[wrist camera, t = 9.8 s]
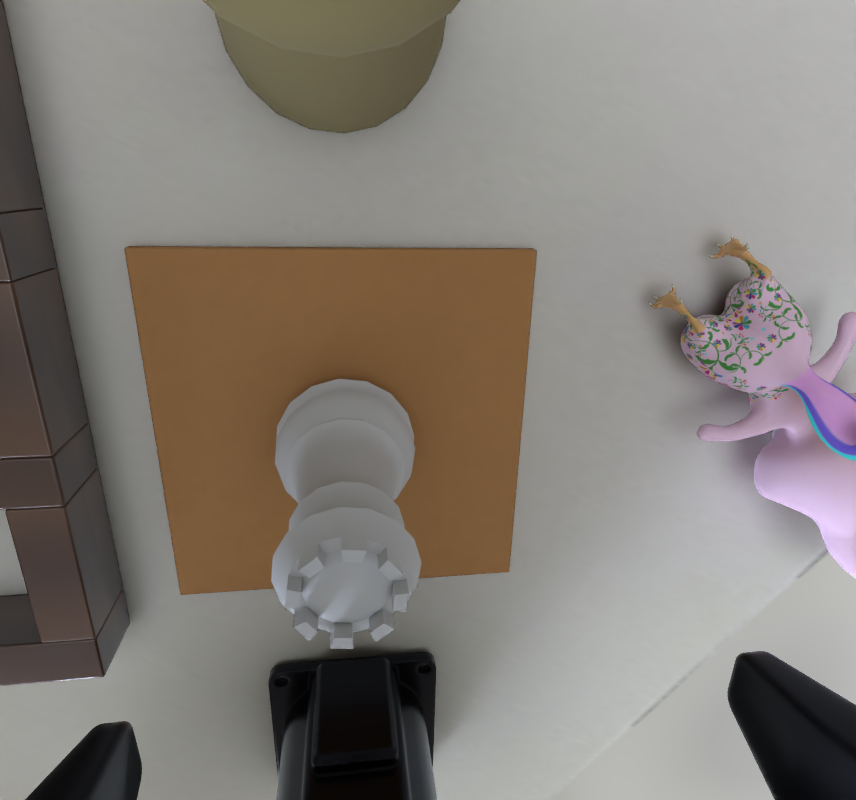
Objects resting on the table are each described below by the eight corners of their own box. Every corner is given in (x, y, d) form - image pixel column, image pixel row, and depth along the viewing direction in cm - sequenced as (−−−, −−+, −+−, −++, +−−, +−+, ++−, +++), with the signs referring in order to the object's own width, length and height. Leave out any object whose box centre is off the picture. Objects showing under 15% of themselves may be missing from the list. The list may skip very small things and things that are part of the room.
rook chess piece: (319, 517, 20) (305, 714, 13) (249, 412, 19) (188, 570, 11) (434, 460, 20) (488, 628, 13) (375, 349, 18) (397, 468, 11)
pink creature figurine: (596, 326, 21) (815, 600, 24) (666, 353, 15) (943, 711, 18) (740, 205, 20) (948, 506, 23) (873, 186, 14) (1128, 590, 17)
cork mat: (506, 565, 23) (509, 572, 22) (182, 587, 21) (180, 595, 21) (533, 248, 18) (537, 249, 18) (128, 245, 17) (123, 247, 16)
